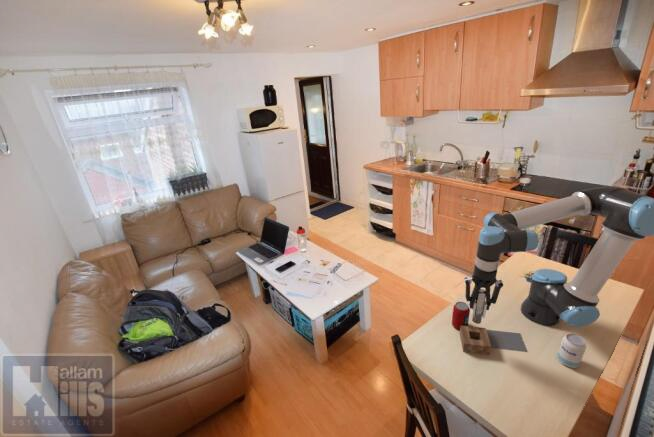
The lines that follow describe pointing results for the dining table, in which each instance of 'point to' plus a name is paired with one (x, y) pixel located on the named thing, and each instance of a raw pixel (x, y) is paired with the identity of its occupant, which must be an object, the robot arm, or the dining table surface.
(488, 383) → the dining table surface
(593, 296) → the robot arm
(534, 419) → the dining table surface
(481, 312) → the steel pin
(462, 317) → the beverage can
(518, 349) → the mat
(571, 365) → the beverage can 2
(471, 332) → the walnut socket block
